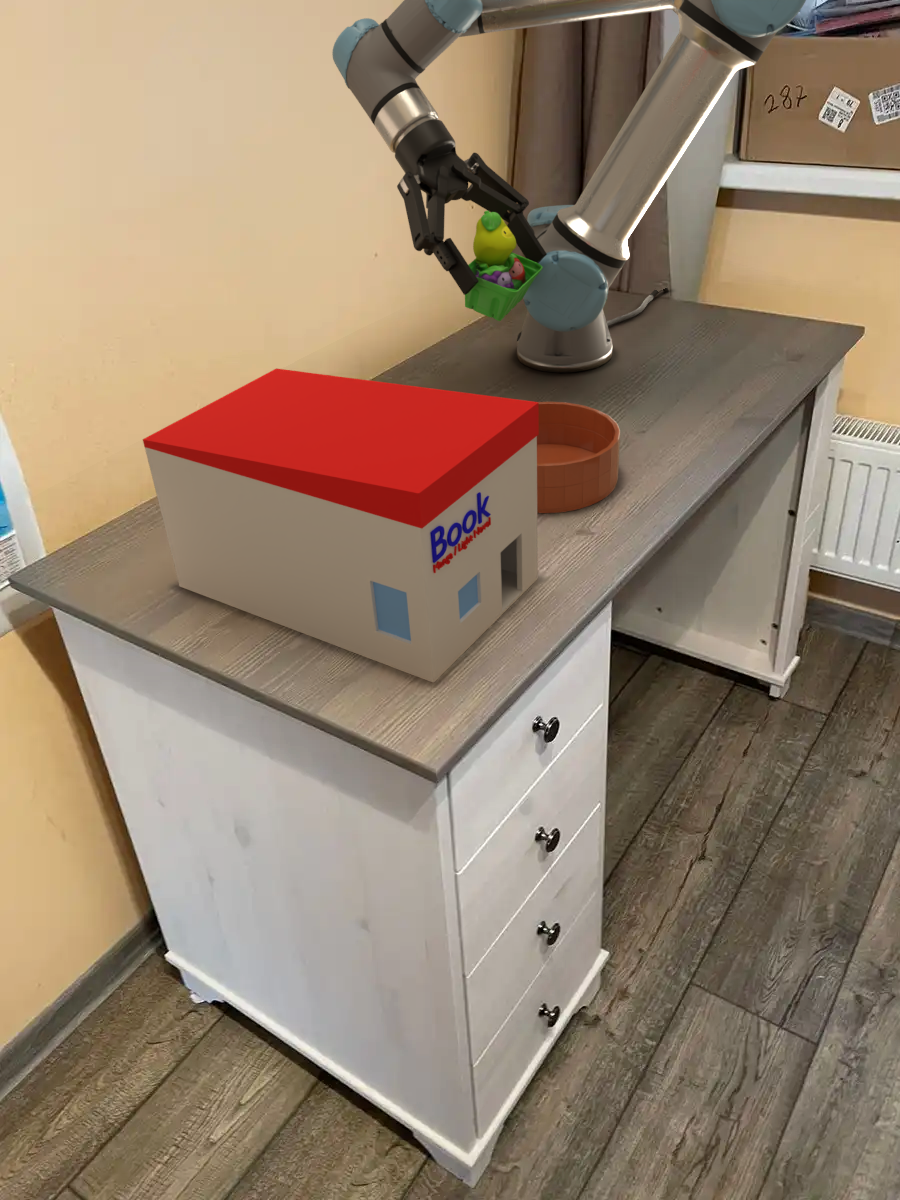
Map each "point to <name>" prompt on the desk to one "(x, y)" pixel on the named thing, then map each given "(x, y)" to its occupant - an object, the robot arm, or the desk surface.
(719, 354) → the desk surface
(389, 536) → the bookstore
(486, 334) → the desk surface
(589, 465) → the pot
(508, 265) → the fruit basket
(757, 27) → the robot arm
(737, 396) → the desk surface
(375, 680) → the desk surface
